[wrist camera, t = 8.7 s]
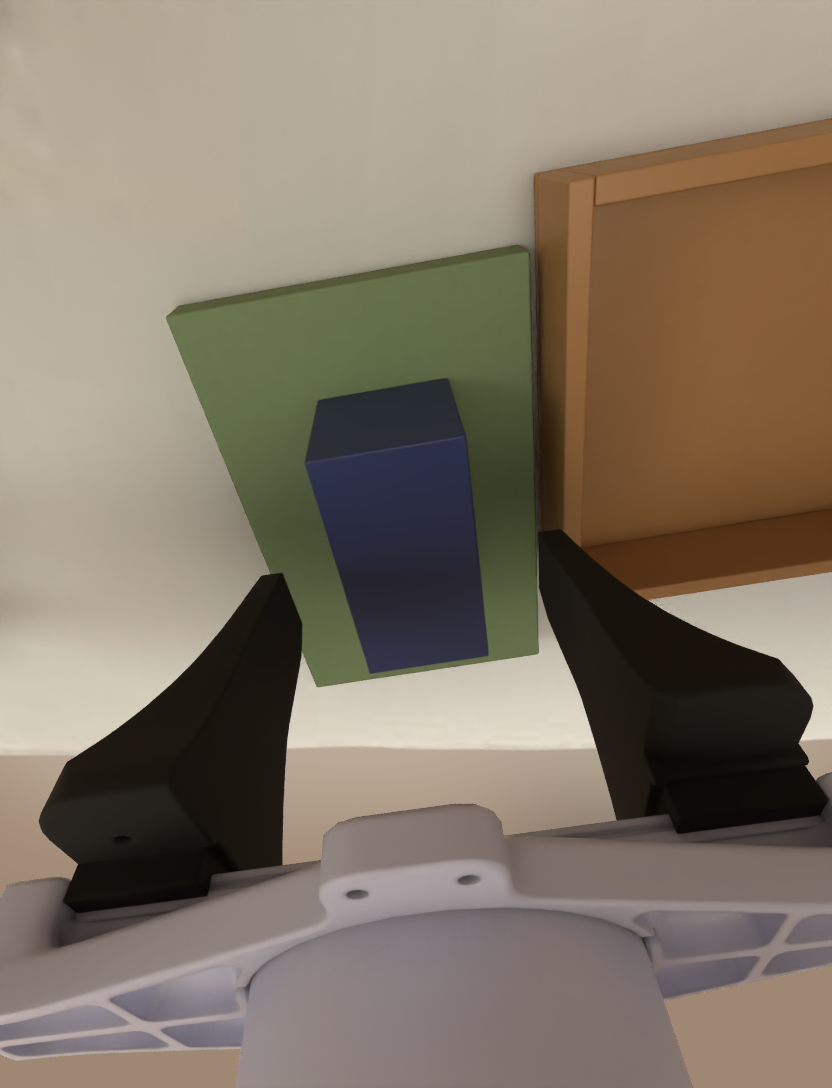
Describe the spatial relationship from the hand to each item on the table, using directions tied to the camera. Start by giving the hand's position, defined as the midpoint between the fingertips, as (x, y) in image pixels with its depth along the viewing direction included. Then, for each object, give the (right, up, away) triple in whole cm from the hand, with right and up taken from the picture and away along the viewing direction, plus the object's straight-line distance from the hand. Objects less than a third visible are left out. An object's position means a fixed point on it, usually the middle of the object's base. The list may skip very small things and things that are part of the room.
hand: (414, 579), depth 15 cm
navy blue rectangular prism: (0, +3, +3) cm, 4 cm away
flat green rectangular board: (-1, +2, +5) cm, 6 cm away
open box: (+11, +7, +3) cm, 13 cm away
